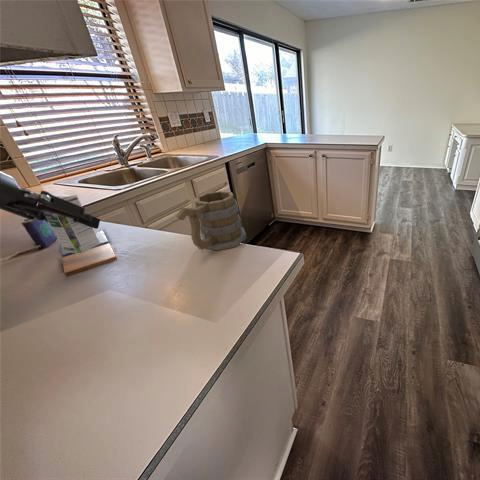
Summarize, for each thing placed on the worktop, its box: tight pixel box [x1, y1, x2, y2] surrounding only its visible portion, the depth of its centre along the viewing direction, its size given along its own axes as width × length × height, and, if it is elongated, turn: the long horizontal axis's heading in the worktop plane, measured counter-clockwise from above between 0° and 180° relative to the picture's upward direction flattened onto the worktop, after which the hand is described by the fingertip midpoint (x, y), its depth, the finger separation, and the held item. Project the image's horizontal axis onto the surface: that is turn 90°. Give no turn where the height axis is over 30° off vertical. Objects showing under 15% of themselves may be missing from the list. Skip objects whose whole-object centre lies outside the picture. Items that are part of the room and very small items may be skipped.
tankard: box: [176, 190, 248, 252], centre depth 75 cm, size 20×13×15 cm, turn 159°
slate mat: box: [59, 230, 110, 257], centre depth 82 cm, size 11×11×1 cm
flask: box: [21, 218, 58, 250], centre depth 82 cm, size 9×3×11 cm, turn 24°
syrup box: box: [42, 193, 100, 254], centre depth 68 cm, size 6×6×14 cm
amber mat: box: [61, 243, 118, 277], centre depth 73 cm, size 11×11×1 cm
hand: (85, 224), depth 72 cm, fingers closed on syrup box, 6 cm apart
